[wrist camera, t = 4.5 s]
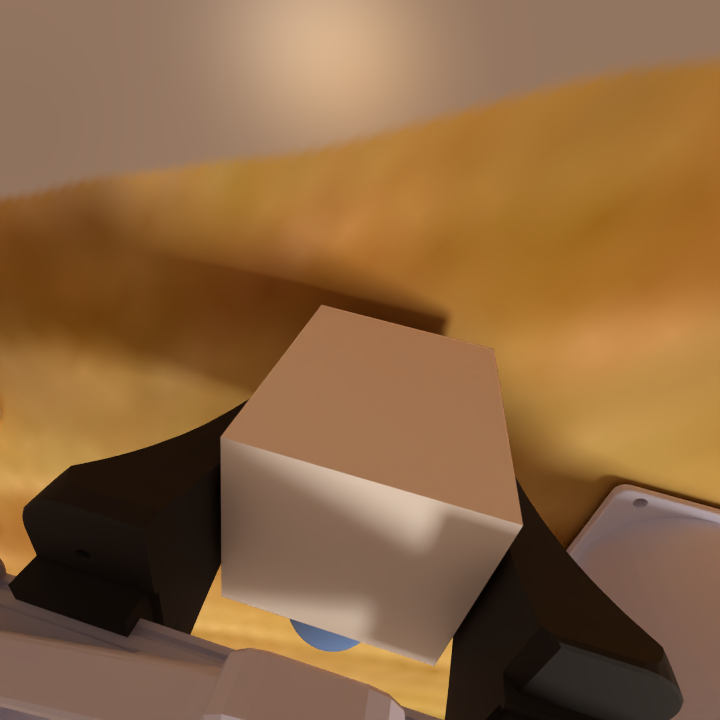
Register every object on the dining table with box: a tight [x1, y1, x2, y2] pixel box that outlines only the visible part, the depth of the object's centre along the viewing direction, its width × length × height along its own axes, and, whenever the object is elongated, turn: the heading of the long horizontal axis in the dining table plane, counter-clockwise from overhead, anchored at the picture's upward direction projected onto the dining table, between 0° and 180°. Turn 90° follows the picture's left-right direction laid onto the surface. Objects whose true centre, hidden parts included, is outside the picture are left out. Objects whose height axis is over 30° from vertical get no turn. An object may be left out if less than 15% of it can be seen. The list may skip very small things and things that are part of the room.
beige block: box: [220, 305, 523, 666], centre depth 12 cm, size 6×6×7 cm
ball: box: [290, 619, 360, 652], centre depth 21 cm, size 5×5×5 cm
